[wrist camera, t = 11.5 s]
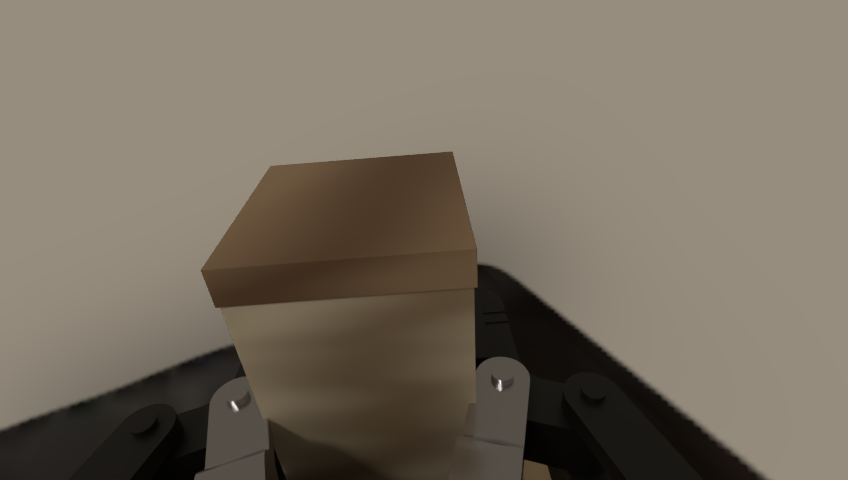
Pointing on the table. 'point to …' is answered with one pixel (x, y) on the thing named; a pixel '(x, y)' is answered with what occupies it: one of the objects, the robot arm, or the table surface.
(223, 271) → the wooden box with lid
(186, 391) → the table surface
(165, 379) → the table surface
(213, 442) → the robot arm
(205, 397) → the table surface
